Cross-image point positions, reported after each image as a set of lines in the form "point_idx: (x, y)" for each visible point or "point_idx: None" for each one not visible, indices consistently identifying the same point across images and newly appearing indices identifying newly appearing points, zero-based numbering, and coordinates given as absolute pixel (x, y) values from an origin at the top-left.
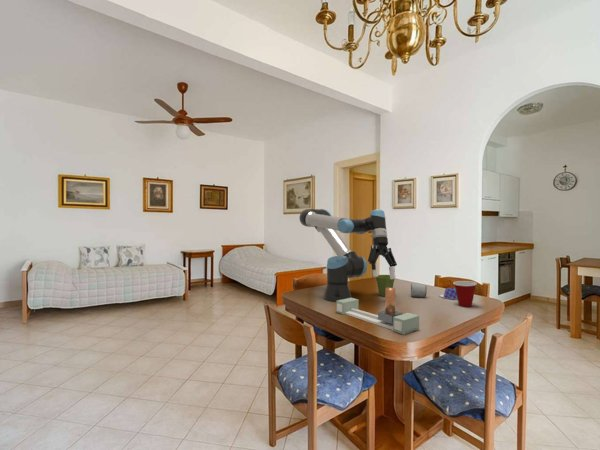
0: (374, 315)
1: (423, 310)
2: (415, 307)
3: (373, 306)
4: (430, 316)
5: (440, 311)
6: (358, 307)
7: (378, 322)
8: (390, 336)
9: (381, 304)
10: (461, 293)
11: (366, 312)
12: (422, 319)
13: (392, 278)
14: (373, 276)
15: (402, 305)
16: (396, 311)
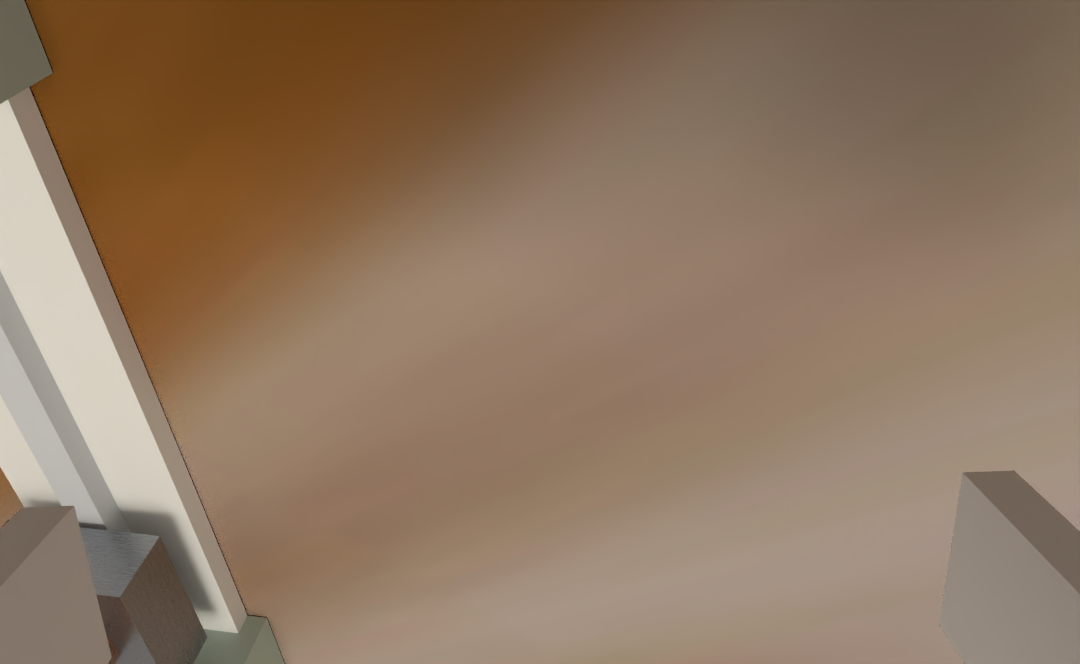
0: (43, 438)
1: (855, 553)
2: (934, 454)
3: (443, 37)
4: (677, 646)
5: (959, 658)
6: (12, 94)
7: (29, 500)
8: None
9: (682, 37)
10: None
11: (65, 263)
12: (523, 631)
13: (957, 562)
14: (21, 531)
15: (910, 299)
16: (147, 659)
